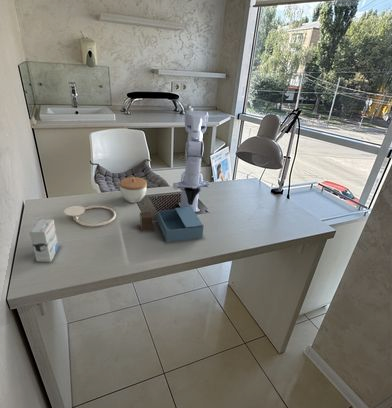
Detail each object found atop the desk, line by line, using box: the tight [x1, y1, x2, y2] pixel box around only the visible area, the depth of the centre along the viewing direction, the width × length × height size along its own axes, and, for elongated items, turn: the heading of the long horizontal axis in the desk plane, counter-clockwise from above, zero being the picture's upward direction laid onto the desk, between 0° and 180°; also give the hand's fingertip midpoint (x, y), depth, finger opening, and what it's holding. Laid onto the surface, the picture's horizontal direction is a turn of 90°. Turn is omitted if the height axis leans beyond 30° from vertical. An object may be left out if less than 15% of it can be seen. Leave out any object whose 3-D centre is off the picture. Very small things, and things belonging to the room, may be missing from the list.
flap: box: [174, 207, 204, 228], centre depth 120 cm, size 16×7×1 cm, turn 19°
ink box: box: [29, 218, 59, 263], centre depth 98 cm, size 8×5×12 cm, turn 5°
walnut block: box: [139, 211, 154, 232], centre depth 119 cm, size 4×4×6 cm
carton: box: [157, 209, 204, 243], centre depth 120 cm, size 16×15×5 cm
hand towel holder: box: [63, 204, 117, 228], centre depth 123 cm, size 17×4×20 cm
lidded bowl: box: [119, 176, 148, 204], centre depth 139 cm, size 13×13×11 cm
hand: (190, 203), depth 120 cm, fingers closed
